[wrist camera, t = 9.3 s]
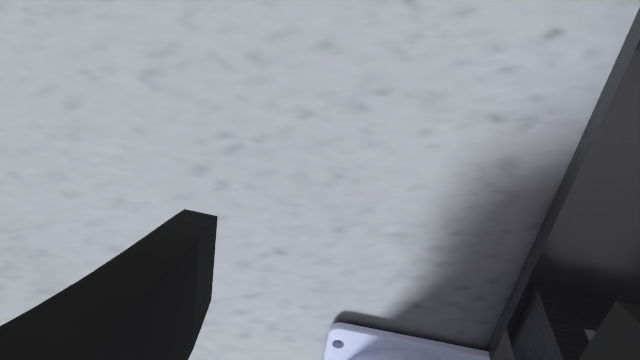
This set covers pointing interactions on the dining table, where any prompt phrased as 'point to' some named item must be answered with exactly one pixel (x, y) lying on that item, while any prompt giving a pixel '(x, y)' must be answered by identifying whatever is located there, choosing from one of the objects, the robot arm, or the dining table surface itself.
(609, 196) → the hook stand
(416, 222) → the dining table surface
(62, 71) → the dining table surface
